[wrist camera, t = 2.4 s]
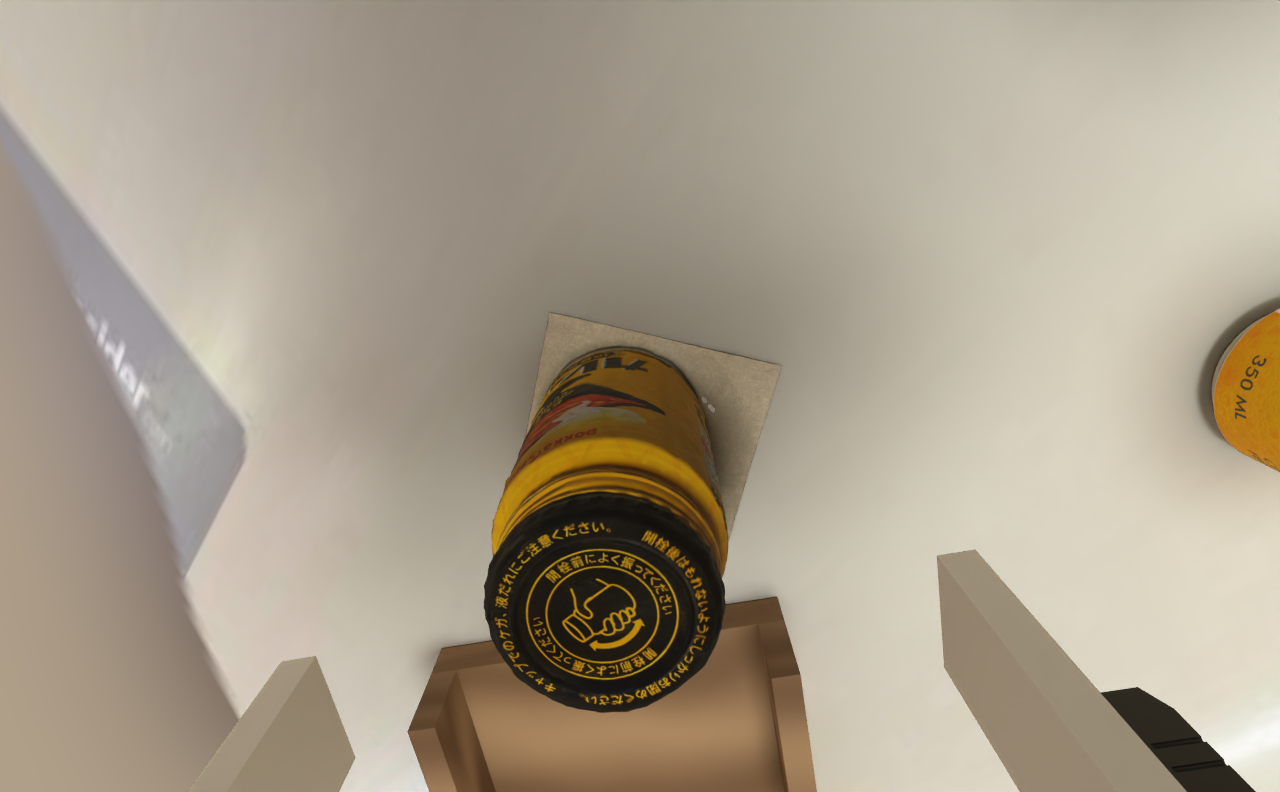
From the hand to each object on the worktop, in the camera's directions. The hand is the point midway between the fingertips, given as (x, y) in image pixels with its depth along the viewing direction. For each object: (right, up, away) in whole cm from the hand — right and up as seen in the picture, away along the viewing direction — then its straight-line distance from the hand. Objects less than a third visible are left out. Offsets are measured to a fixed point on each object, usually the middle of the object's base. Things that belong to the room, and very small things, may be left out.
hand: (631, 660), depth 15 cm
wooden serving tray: (0, -10, +16) cm, 19 cm away
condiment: (0, +4, +12) cm, 13 cm away
